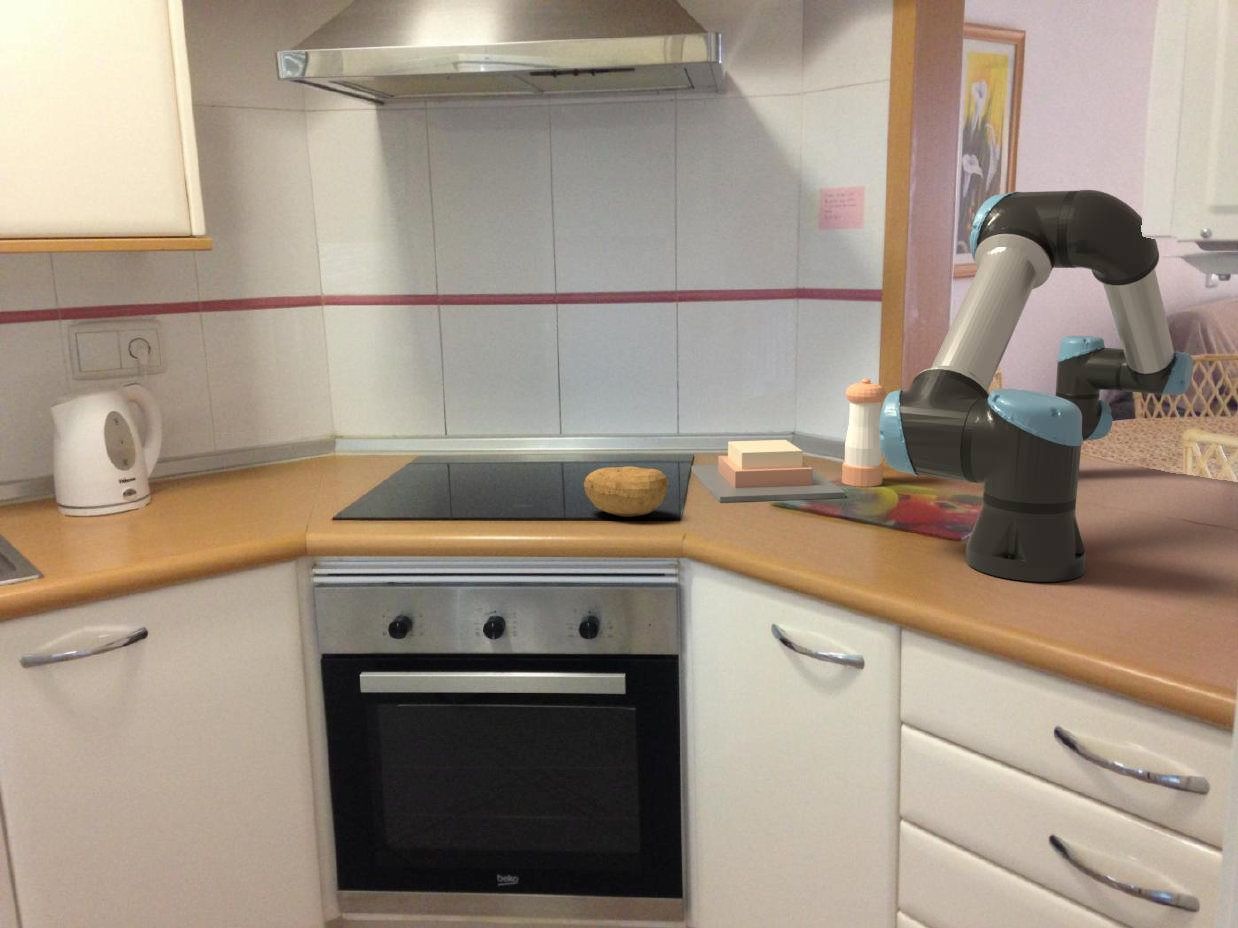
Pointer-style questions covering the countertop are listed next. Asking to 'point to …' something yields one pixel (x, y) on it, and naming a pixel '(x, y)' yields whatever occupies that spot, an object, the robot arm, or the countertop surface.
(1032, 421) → the robot arm
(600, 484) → the potato
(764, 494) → the stacked blocks on tray
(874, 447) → the pepper shaker
